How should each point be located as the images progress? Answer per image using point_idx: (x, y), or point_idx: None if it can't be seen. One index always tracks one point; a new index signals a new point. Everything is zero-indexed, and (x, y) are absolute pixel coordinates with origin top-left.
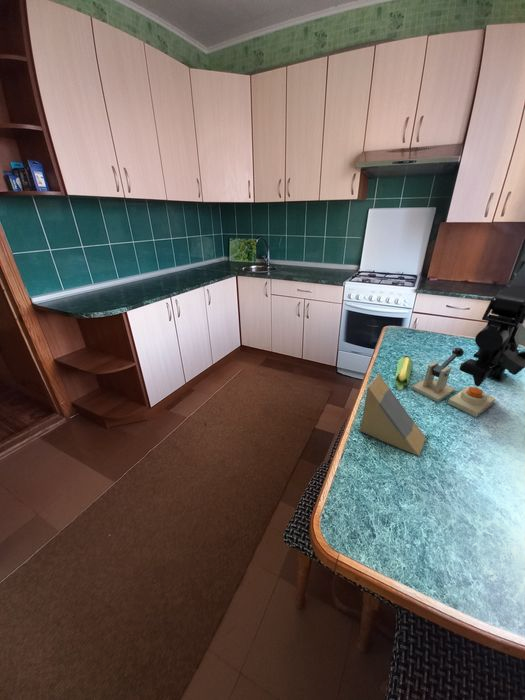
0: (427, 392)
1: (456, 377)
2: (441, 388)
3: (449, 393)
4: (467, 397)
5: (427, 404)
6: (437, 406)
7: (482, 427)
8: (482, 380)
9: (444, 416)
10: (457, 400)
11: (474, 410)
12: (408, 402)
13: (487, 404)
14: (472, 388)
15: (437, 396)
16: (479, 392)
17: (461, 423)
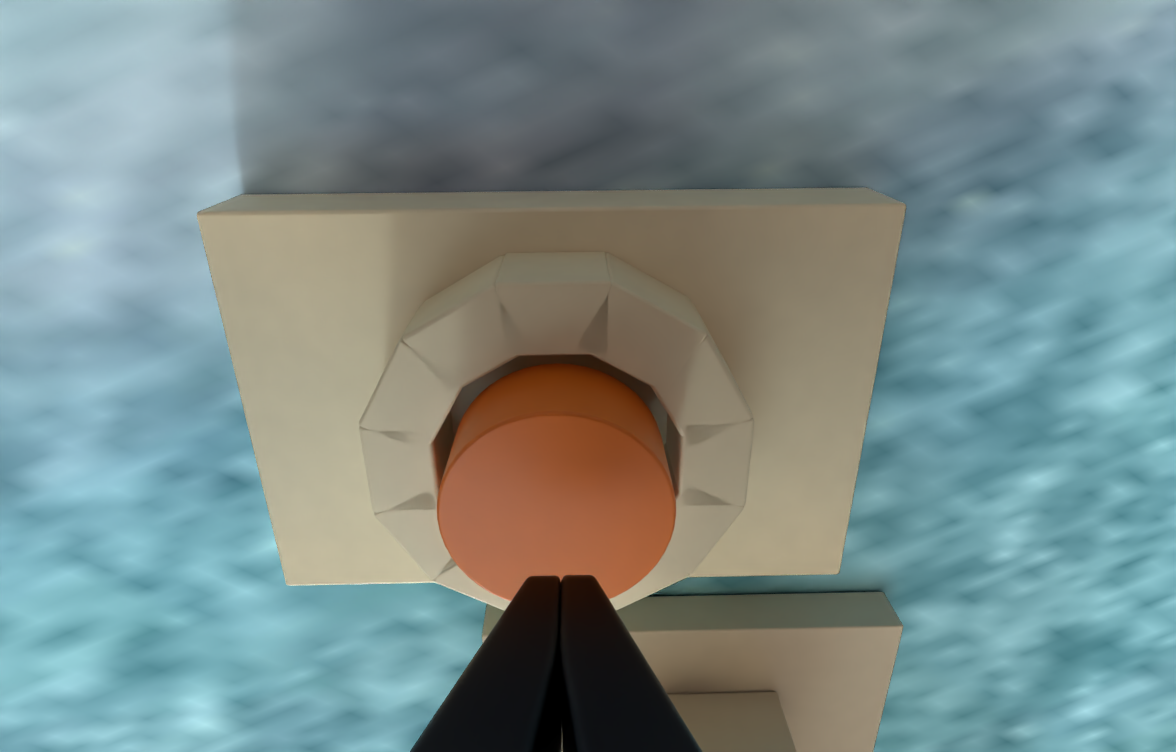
0: (856, 743)
1: (142, 716)
2: (705, 728)
3: (619, 614)
4: (742, 477)
5: (1012, 624)
6: (973, 555)
7: (1072, 2)
8: (694, 745)
9: (1138, 423)
10: (796, 506)
11: (882, 258)
12: (1112, 725)
13: (521, 212)
14: (547, 570)
15: (856, 659)
16: (581, 449)
17: (1164, 234)
